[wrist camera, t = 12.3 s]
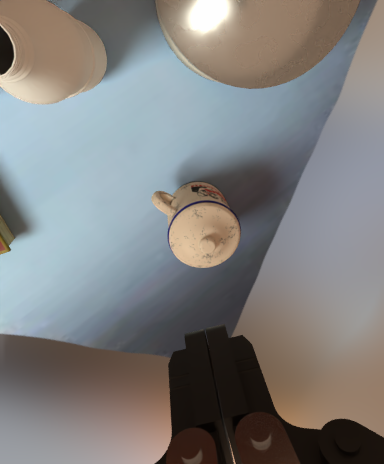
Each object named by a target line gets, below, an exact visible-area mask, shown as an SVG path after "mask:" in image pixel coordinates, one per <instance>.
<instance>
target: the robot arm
mask: <svg viewBox="0 0 384 464" xmlns="http://www.w3.org/2000/svg"><path fill="white" fill-rule="evenodd" d="M206 334H207V338H206V335H205V331H204V329H202V330H198V331H194V332H190V333H186V334H185V344H186V349H183V350H179V351H175V352H173V354H172V357H171V359H170V362H169V365H168V367H169V387H170V406H171V423H172V424H171V425H172V437H171V442H170V444H169V446H168V450H167V451H166V453H165V454H164V455H163V456H162V458H161V459H160V460H159V461H158V462H156V463H155V464H234V462H233V457H232V453H231V448H232V451H233V455H234V459H235V462H236V464H384V438H383V437H382V436H380V435H378V434H376V433H375V432H373V431H371V430H369V429H368V428H366V427H364V426H362V425H361V424H359V423H357V422H355V421H351V420H348V419H335V420H332V421H330V422H328V423H327V424H325V425H324V426H323V428H322V429H321V430H318V429H307V428H300V427H296V426H293V425H291V424H289V423H287V422H286V421H285V420H283V419H282V418H281V417H280V416H279V415H278V413H277V411H276V410H275V407H274V405H273V402H272V399H271V396H270V394H269V391H268V388H267V385H266V382H265V380H264V377H263V374H262V371H261V369H260V366H259V363H258V360H257V358H256V354H255V352H254V349H253V346H252V344H251V343H250V342H249V341H248V340H247V339H246V338H245V337H244V336H243V335H240V336H237V337H232V338H228V334H227V331H226V327H225V324H222V325H218V326H214V327H210V328H206ZM207 339H208V342H207ZM208 344H209V346H208ZM209 349H210V350H209ZM228 437H229V438H228ZM229 441H230V442H229ZM230 444H231V448H230Z"/></svg>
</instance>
